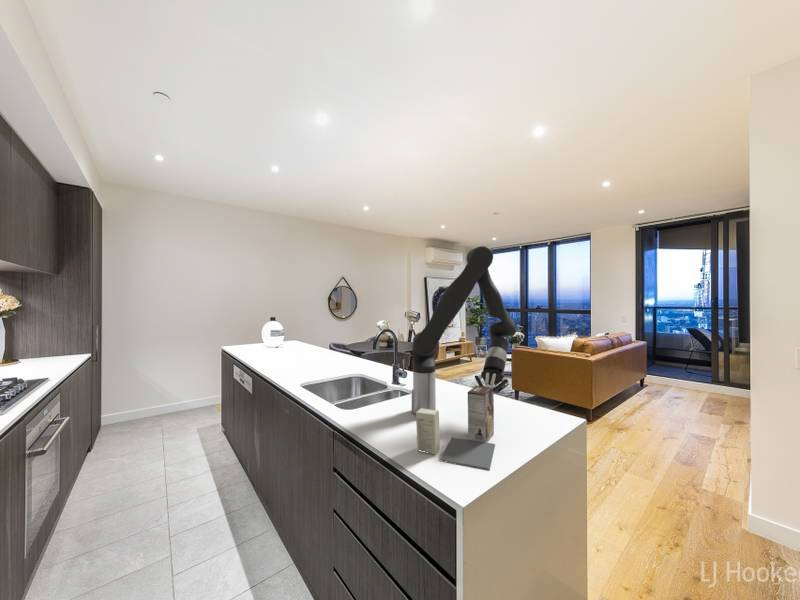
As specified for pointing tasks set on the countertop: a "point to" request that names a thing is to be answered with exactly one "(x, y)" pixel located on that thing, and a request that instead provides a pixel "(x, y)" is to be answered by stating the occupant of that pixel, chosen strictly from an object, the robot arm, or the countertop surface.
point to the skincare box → (428, 430)
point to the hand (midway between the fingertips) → (486, 401)
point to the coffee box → (480, 413)
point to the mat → (469, 453)
